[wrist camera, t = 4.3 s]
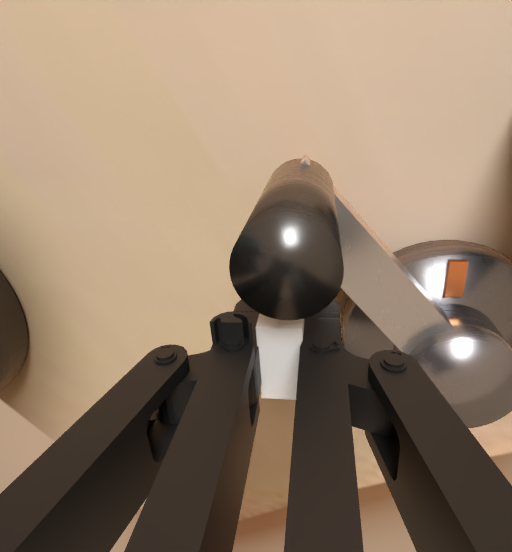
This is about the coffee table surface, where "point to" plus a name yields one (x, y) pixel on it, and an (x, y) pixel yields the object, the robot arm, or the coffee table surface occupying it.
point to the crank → (364, 288)
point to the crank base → (442, 289)
